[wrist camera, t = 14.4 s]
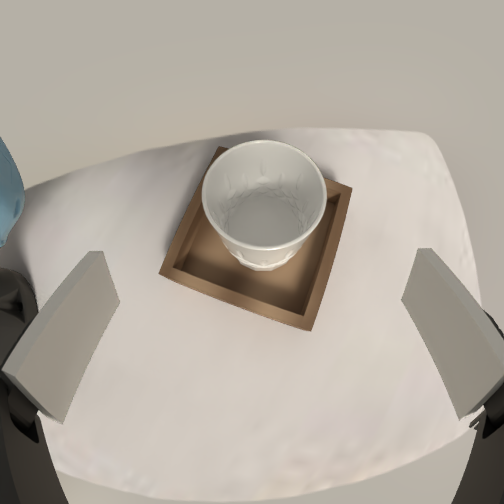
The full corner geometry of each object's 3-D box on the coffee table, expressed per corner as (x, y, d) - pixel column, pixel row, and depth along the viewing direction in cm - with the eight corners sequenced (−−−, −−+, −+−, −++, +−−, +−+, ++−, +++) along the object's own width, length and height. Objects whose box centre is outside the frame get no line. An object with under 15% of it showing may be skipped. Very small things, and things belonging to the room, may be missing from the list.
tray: (170, 280, 26) (158, 273, 23) (223, 164, 30) (218, 146, 26) (304, 330, 25) (311, 331, 21) (343, 203, 28) (352, 188, 25)
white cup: (301, 200, 27) (319, 140, 17) (305, 277, 25) (332, 249, 15) (223, 200, 27) (206, 141, 18) (221, 278, 25) (197, 250, 16)
